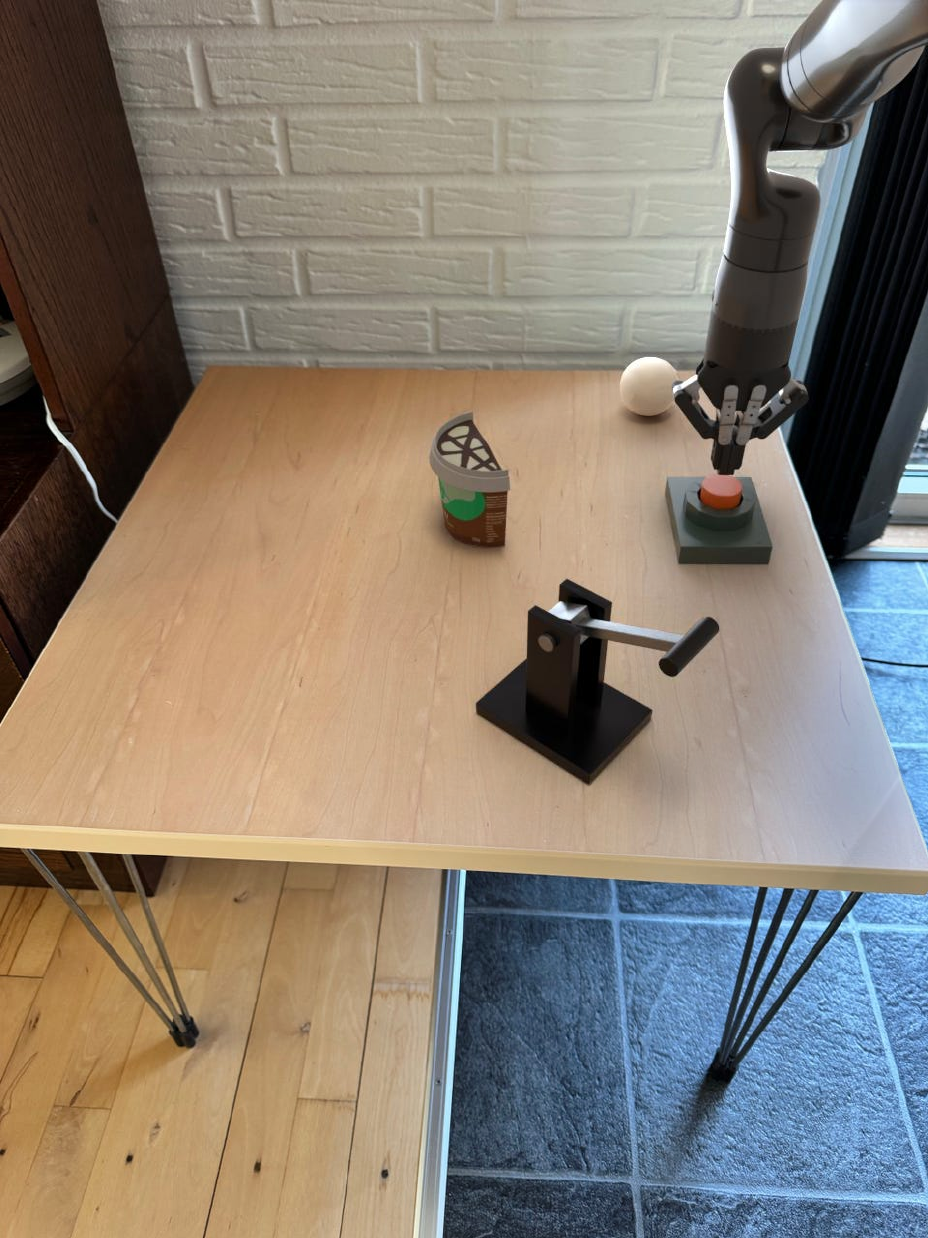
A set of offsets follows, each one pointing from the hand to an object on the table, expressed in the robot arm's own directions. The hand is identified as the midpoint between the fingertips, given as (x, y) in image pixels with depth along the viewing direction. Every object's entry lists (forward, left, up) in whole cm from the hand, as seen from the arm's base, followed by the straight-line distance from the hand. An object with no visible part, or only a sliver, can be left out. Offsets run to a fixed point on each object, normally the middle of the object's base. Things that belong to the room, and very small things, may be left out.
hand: (724, 470), depth 96 cm
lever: (-1, +32, +5) cm, 33 cm away
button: (0, 0, -3) cm, 3 cm away
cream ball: (+14, -19, -7) cm, 25 cm away
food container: (+24, +11, -7) cm, 27 cm away
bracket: (+4, +31, -7) cm, 32 cm away
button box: (0, 0, -7) cm, 7 cm away
